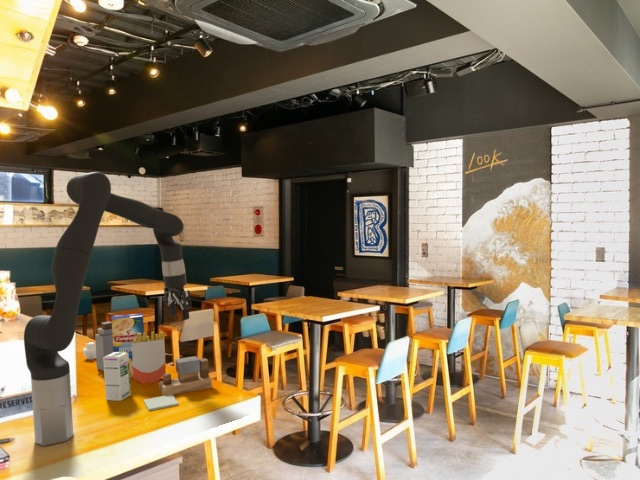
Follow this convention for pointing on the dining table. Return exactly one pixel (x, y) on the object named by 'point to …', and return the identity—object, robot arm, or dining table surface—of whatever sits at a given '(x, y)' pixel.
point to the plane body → (186, 381)
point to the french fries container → (148, 358)
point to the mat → (160, 402)
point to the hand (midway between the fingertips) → (180, 317)
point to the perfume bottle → (103, 343)
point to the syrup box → (117, 376)
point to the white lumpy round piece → (90, 350)
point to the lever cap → (187, 365)
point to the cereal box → (126, 333)
